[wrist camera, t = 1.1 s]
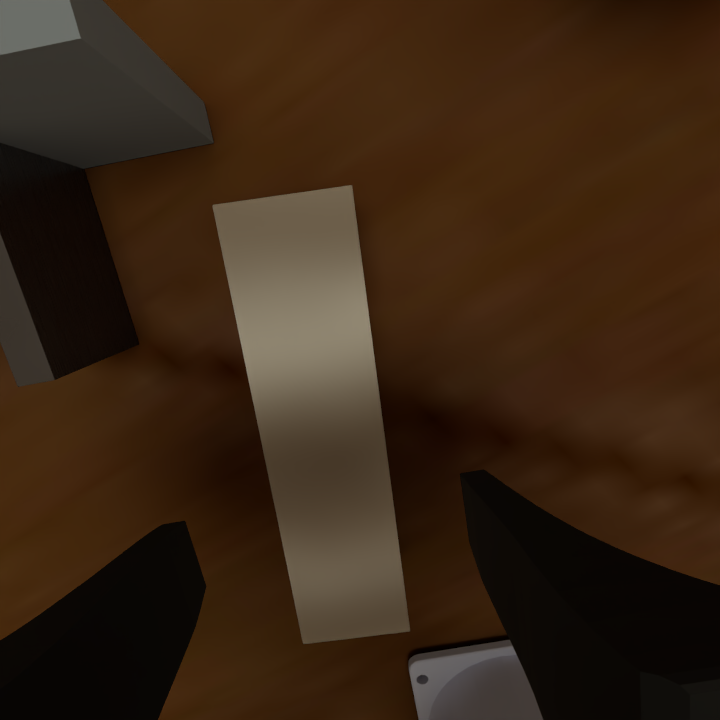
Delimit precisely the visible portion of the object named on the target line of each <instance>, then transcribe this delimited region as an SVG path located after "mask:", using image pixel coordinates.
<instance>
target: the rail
mask: <svg viewBox="0 0 720 720" xmlns="http://www.w3.org/2000/svg"><path fill="white" fill-rule="evenodd" d="M212 206H213V210H214V215H215V220H216V225H217V230H218V235H219V239H220V244H221V249H222V254H223V259H224V264H225V268H226V273H227V278H228V283H229V288H230V293H231V297H232V302H233V307H234V312H235V317H236V322H237V326H238V331H239V336H240V341H241V346H242V351H243V356H244V360H245V365H246V370H247V375H248V380H249V385H250V389H251V394H252V399H253V404H254V409H255V414H256V418H257V423H258V428H259V433H260V438H261V443H262V447H263V452H264V457H265V462H266V467H267V472H268V476H269V481H270V486H271V491H272V496H273V501H274V505H275V510H276V515H277V520H278V525H279V530H280V534H281V539H282V544H283V549H284V554H285V559H286V563H287V568H288V573H289V578H290V583H291V588H292V592H293V597H294V602H295V607H296V612H297V617H298V621H299V626H300V631H301V636H302V641H303V644H309V643H317V642H325V641H334V640H342V639H350V638H358V637H367V636H375V635H383V634H392V633H400V632H408V631H410V626H409V619H408V611H407V603H406V596H405V588H404V580H403V573H402V565H401V557H400V550H399V542H398V534H397V527H396V519H395V511H394V504H393V496H392V488H391V481H390V473H389V465H388V458H387V450H386V443H385V435H384V427H383V420H382V412H381V404H380V397H379V389H378V381H377V374H376V366H375V358H374V351H373V343H372V335H371V328H370V320H369V312H368V305H367V297H366V289H365V282H364V274H363V267H362V259H361V251H360V244H359V236H358V228H357V221H356V213H355V205H354V198H353V190H352V185H350V186H343V187H336V188H329V189H322V190H315V191H308V192H301V193H294V194H287V195H280V196H273V197H266V198H259V199H252V200H245V201H238V202H231V203H224V204H217V205H212Z"/></svg>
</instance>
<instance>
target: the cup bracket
mask: <svg viewBox="0 0 720 720" xmlns="http://www.w3.org/2000/svg"><path fill="white" fill-rule="evenodd" d="M0 343H1V345H2V348H3V350H4V353H5V355H6V358H7V360H8V363H9V365H10V368H11V370H12V373H13V375H14V378H15V381H16V383H17V386H18V387H19V386H24V385H30V384H35V383H41V382H46V381H52V380H56V379H58V378H61V377H63V376H65V375H68V374H70V373H72V372H75V371H77V370H79V369H82V368H84V367H87V366H89V365H91V364H94V363H96V362H98V361H101V360H103V359H105V358H108V357H110V356H113V355H115V354H117V353H120V352H122V351H124V350H127V349H129V348H132V347H134V346H136V345H139V343H138V340H137V337H136V334H135V330H134V327H133V324H132V321H131V318H130V314H129V311H128V308H127V305H126V302H125V299H124V295H123V292H122V289H121V286H120V283H119V279H118V276H117V273H116V270H115V267H114V264H113V260H112V257H111V254H110V251H109V248H108V244H107V241H106V238H105V235H104V232H103V229H102V225H101V222H100V219H99V216H98V213H97V209H96V206H95V203H94V200H93V197H92V194H91V190H90V187H89V184H88V181H87V178H86V175H85V171H84V169H83V168H80V167H77V166H73V165H70V164H67V163H64V162H61V161H57V160H54V159H51V158H48V157H45V156H41V155H38V154H35V153H32V152H29V151H25V150H22V149H19V148H16V147H13V146H9V145H6V144H3V143H0Z"/></svg>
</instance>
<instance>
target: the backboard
mask: <svg viewBox="0 0 720 720" xmlns="http://www.w3.org/2000/svg"><path fill="white" fill-rule="evenodd" d="M0 143H3V144H6V145H9V146H13V147H16V148H19V149H22V150H25V151H29V152H32V153H35V154H38V155H41V156H45V157H48V158H51V159H54V160H57V161H61V162H64V163H67V164H70V165H73V166H77V167H80V168H83V169H85V168H90V167H95V166H100V165H105V164H110V163H115V162H120V161H125V160H130V159H135V158H141V157H146V156H151V155H156V154H161V153H166V152H171V151H176V150H181V149H186V148H191V147H196V146H201V145H206V144H211V143H214V141H213V137H212V133H211V129H210V125H209V121H208V117H207V113H206V108H205V104H204V102H203V101H202V100H201V99H200V98H199V97H198V96H197V95H196V94H195V93H194V92H193V91H192V90H191V89H190V88H189V87H188V86H187V85H186V84H185V83H184V82H183V81H182V80H181V79H180V78H179V77H178V76H177V75H176V74H175V73H174V72H173V71H172V70H171V69H170V68H169V67H168V66H167V65H166V64H165V63H164V62H163V61H162V60H161V59H160V58H159V57H158V56H157V55H156V54H155V53H154V52H153V51H152V50H151V49H150V48H149V47H148V46H147V45H146V44H145V43H144V42H143V41H142V40H141V39H140V38H139V37H138V36H137V35H136V34H135V33H134V32H133V31H132V30H131V29H130V28H129V27H128V26H127V25H126V24H125V23H124V22H123V21H122V20H121V19H120V18H119V17H118V16H117V15H116V14H115V13H114V12H113V11H112V10H111V9H110V7H109V6H108V5H107V4H106V3H105V2H104V1H103V0H0Z"/></svg>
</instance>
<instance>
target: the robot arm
mask: <svg viewBox="0 0 720 720" xmlns="http://www.w3.org/2000/svg"><path fill="white" fill-rule="evenodd" d="M460 477H461V484H462V492H463V499H464V506H465V514H466V521H467V528H468V536H469V542H470V546H471V549H472V552H473V555H474V558H475V561H476V564H477V567H478V570H479V573H480V576H481V579H482V581H483V583H484V586H485V588H486V590H487V592H488V594H489V596H490V599H491V601H492V603H493V605H494V607H495V609H496V612H497V614H498V616H499V618H500V620H501V622H502V624H503V627H504V629H505V631H506V633H507V635H508V637H509V639H510V640H504V641H498V642H491V643H485V644H479V645H472V646H466V647H460V648H453V649H447V650H441V651H434V652H428V653H422V654H417V655H414V656H413V657H411V658H410V660H409V663H408V666H409V673H410V678H411V683H412V688H413V693H414V699H415V704H416V709H417V714H418V719H419V720H720V585H717V584H713V583H710V582H707V581H703V580H700V579H697V578H694V577H691V576H688V575H685V574H682V573H679V572H676V571H673V570H671V569H668V568H665V567H663V566H660V565H657V564H655V563H652V562H650V561H647V560H644V559H642V558H639V557H636V556H634V555H632V554H629V553H627V552H625V551H622V550H620V549H618V548H615V547H613V546H611V545H609V544H607V543H605V542H603V541H600V540H598V539H596V538H594V537H592V536H590V535H588V534H586V533H584V532H582V531H580V530H578V529H576V528H574V527H572V526H571V525H569V524H567V523H565V522H563V521H562V520H560V519H558V518H556V517H555V516H553V515H551V514H549V513H548V512H546V511H545V510H543V509H541V508H540V507H538V506H536V505H535V504H533V503H532V502H530V501H529V500H527V499H526V498H524V497H523V496H521V495H520V494H518V493H517V492H515V491H514V490H512V489H511V488H509V487H508V486H507V485H505V484H504V483H502V482H501V481H499V480H498V479H497V478H495V477H494V476H492V475H491V474H490V473H488V472H487V471H485V470H478V471H473V472H467V473H461V474H460ZM205 589H206V584H205V581H204V578H203V575H202V572H201V569H200V565H199V562H198V559H197V556H196V553H195V550H194V547H193V544H192V541H191V538H190V535H189V532H188V528H187V525H186V522H185V521H181V522H175V523H169V524H163V525H161V526H159V527H158V528H156V529H155V530H153V531H152V532H150V533H149V534H147V535H146V536H144V537H143V538H142V539H140V540H139V541H138V542H136V543H135V544H134V545H132V546H131V547H130V548H128V549H127V550H126V551H124V552H123V553H122V554H121V555H119V556H118V557H117V558H115V559H114V560H113V561H111V562H110V563H109V564H108V565H106V566H105V567H104V568H102V569H101V570H100V571H98V572H97V573H96V574H95V575H93V576H92V577H91V578H89V579H88V580H87V581H85V582H84V583H83V584H81V585H80V586H78V587H77V588H76V589H74V590H73V591H72V592H70V593H69V594H67V595H66V596H65V597H63V598H62V599H61V600H59V601H58V602H56V603H55V604H54V605H52V606H51V607H50V608H48V609H47V610H45V611H44V612H43V613H41V614H40V615H38V616H37V617H35V618H34V619H33V620H31V621H30V622H28V623H27V624H25V625H24V626H22V627H21V628H19V629H18V630H16V631H15V632H13V633H11V634H10V635H8V636H7V637H5V638H4V639H2V640H0V720H158V718H159V715H160V713H161V710H162V708H163V706H164V703H165V701H166V698H167V696H168V693H169V691H170V689H171V686H172V684H173V681H174V679H175V676H176V674H177V672H178V669H179V667H180V664H181V662H182V659H183V657H184V654H185V652H186V649H187V647H188V644H189V642H190V639H191V637H192V634H193V632H194V629H195V627H196V623H197V620H198V616H199V613H200V609H201V605H202V601H203V597H204V593H205ZM420 675H422V676H420Z"/></svg>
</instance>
